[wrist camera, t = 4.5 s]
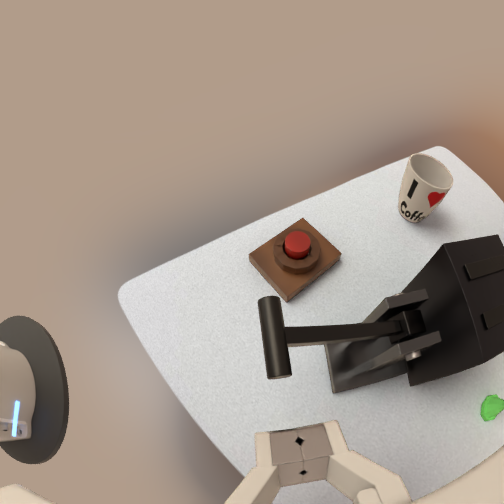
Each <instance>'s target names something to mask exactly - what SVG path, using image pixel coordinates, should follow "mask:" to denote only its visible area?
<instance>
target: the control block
mask: <svg viewBox="0 0 504 504" xmlns="http://www.w3.org/2000/svg"><path fill="white" fill-rule="evenodd" d="M294 231H300V232H303V233H305V234H306V235H307V236H308V237H309V238H310V248H309V252H308V254H307V255H306V256H305V257H304V258H302V259H293V258H291V257H289V256H288V255H287V254H286V252H285V239H286V237H287V235H288V234H289V233H291V232H294ZM341 254H342V253H341V252H340V251H339V250H337V249H336V248H335V247H334V246H333V245H332V244H331V243H330V242H329V241H328V240H327V239H326V238H325V237H323V236H322V235H321V234H320V233H319V232H318V231H317V230H316V229H315V228H314V227H313V226H311V225H310V224H309V223H308V222H307V221H306V220H305V219H304V218H302V219H300V220H299V221H297V222H296V223H294V224H293V225H291V226H290V227H288V228H287V229H285V230H284V231H282V232H281V233H279V234H278V235H277V236H275V237H274V238H272V239H271V240H269V241H268V242H266V243H265V244H263V245H262V246H260V247H259V248H257V249H256V250H254V251H253V252H251V253H250V254H249V260H250V262H251V263H252V265H253V266H254V267H255V268H256V269H257V270H258V271H259V272H260V273H261V275H262V276H263V277H264V278H265V279H266V280H267V281H268V282H269V283H270V285H271V286H272V287H273V288H274V289H275V290H276V291H277V292H278V294H279V295H280V296H281V297H282V298H283V299H284V300H285V301H286V302H288V301H289V300H290V299H292V298H293V297H294V296H295V295H297V294H298V293H299V292H300V291H302V290H303V289H304V288H306V287H307V286H308V285H309V284H311V283H312V282H313V281H314V280H315V279H317V278H318V277H319V276H320V275H322V274H323V273H324V272H325V271H327V270H328V269H329V268H330V267H331V266H333V265H334V264H335V263H336V262H337V261H339V259H340V256H341Z"/></svg>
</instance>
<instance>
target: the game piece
mask: <svg viewBox="0 0 504 504" xmlns="http://www.w3.org/2000/svg"><path fill="white" fill-rule="evenodd" d="M502 410H504V400H502V399H500V398H498V396H497V395H490V396H487V397H486V399H485V400H484V402H483V403H482V407H481V416H482V418H483V419H484V421H488V420H493V419H495V417H496V416H497V414H498V413H500V412H501V411H502Z"/></svg>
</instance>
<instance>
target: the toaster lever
mask: <svg viewBox="0 0 504 504" xmlns="http://www.w3.org/2000/svg"><path fill="white" fill-rule="evenodd" d="M258 309H259V316H260V324H261V332H262V340H263V348H264V355H265V363H266V371H267V378H268V379H280V378H286V377H290V376H292V371H291V364H290V358H289V351H288V347H298V346H312V345H323V344H334V343H343V342H352V341H360V340H368V339H375V338H382V337H388V336H389V341H390V344H394V343H399V342H404V341H408V340H411V339H413V338H415V337H417V336H419V335H421V334H423V333H425V332H426V331H427V330H426V327H425V323H424V320H423V317H422V313H421V310H420V309H419V310H406V311H402V312H400V313H398V314H397V315H395V316H393V317H391V318H389V319H388V320H386V321H384V322H373V323H360V324H346V325H328V326H304V327H285V326H284V319H283V313H282V307H281V301H280V298H279V297H277V296H267V297H263V298H261V299H259V300H258Z"/></svg>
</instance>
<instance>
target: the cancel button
mask: <svg viewBox="0 0 504 504" xmlns="http://www.w3.org/2000/svg"><path fill="white" fill-rule="evenodd" d="M309 248H310V238H309V237H308V236H307V235H306V234H305V233H303V232H300V231H294V232H291V233H289V234H288V235H287V237H286V239H285V252H286V254H287V255H288V256H289V257H291V258H293V259H302V258H304V257H305V256H306V255H307V254H308V252H309Z"/></svg>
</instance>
